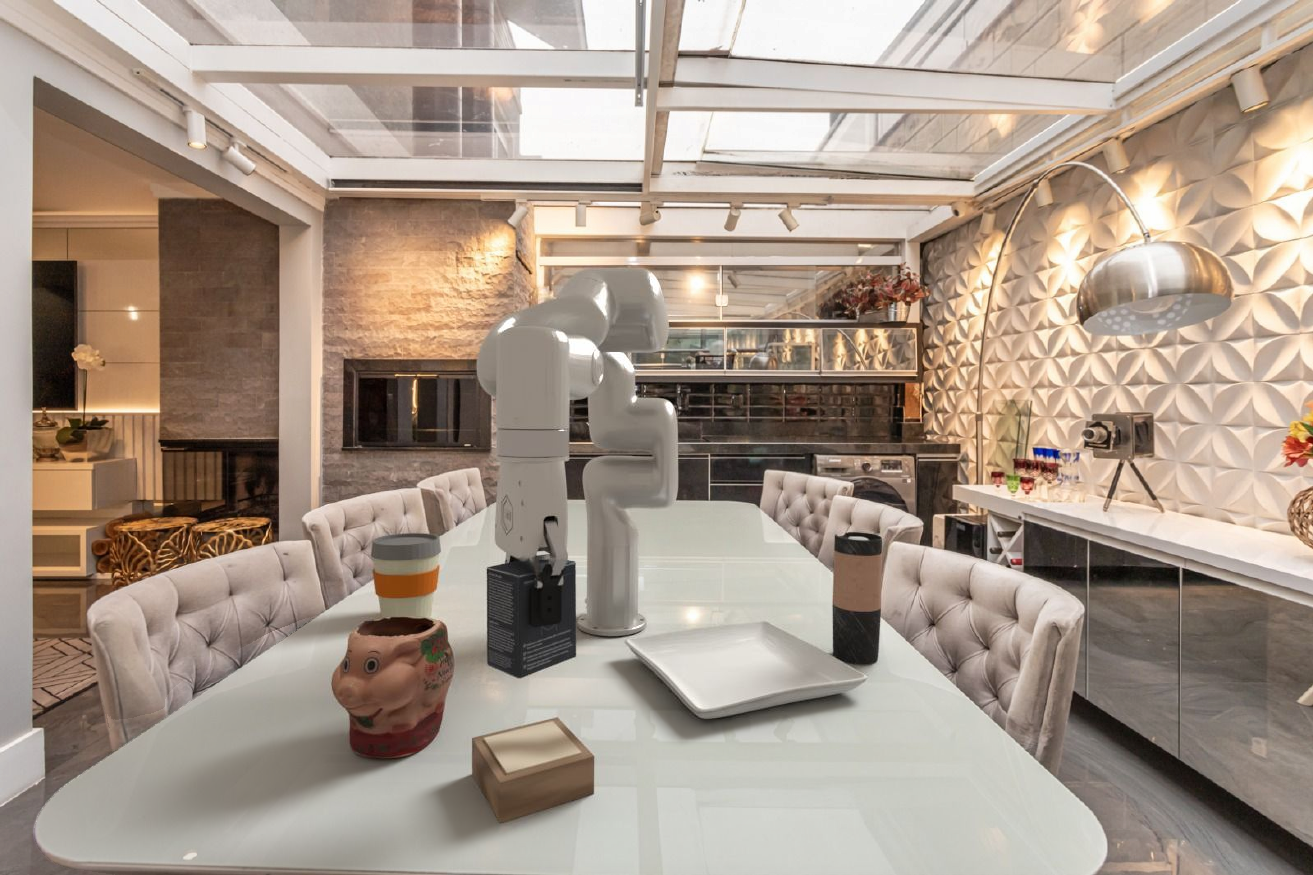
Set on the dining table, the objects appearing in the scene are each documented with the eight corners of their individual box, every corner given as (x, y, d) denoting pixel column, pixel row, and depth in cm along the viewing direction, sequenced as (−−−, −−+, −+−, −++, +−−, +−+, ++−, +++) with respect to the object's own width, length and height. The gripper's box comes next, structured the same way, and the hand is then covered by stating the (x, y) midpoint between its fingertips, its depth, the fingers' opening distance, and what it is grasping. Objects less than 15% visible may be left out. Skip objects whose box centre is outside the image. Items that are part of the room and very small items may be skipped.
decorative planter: (397, 696, 92) (397, 597, 91) (481, 702, 90) (481, 601, 89) (302, 774, 72) (301, 648, 71) (408, 784, 70) (408, 655, 70)
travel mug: (882, 667, 104) (886, 541, 103) (832, 663, 105) (835, 539, 105) (876, 650, 111) (879, 533, 111) (829, 646, 113) (832, 530, 112)
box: (543, 645, 75) (543, 553, 74) (577, 658, 71) (578, 561, 71) (484, 665, 69) (485, 565, 68) (518, 680, 65) (519, 575, 65)
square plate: (621, 660, 107) (621, 636, 107) (765, 639, 118) (766, 617, 117) (697, 737, 82) (697, 706, 82) (871, 701, 93) (871, 673, 93)
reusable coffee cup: (440, 604, 135) (440, 531, 134) (441, 623, 123) (441, 543, 122) (374, 609, 131) (373, 534, 130) (367, 629, 119) (367, 547, 118)
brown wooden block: (471, 773, 72) (471, 736, 72) (557, 750, 77) (557, 715, 77) (500, 823, 64) (500, 780, 64) (594, 793, 69) (594, 754, 69)
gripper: (474, 443, 75) (474, 598, 75) (527, 452, 60) (526, 646, 60) (537, 442, 78) (536, 590, 79) (601, 450, 64) (600, 633, 64)
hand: (532, 613), depth 70 cm, fingers closed on box, 7 cm apart
